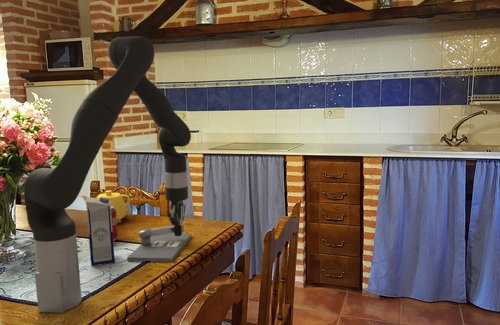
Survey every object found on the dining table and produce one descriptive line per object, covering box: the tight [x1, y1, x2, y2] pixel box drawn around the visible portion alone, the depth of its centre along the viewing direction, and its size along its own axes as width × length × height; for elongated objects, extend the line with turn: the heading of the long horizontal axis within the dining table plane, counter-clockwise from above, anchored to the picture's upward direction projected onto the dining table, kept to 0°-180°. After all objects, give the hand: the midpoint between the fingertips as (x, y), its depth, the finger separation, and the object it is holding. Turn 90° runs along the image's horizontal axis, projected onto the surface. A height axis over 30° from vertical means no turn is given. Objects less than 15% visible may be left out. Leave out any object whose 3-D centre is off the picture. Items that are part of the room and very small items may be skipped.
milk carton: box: [85, 196, 116, 267], centre depth 128 cm, size 7×7×20 cm
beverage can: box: [111, 206, 119, 242], centre depth 148 cm, size 6×6×12 cm
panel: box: [126, 233, 193, 263], centre depth 139 cm, size 24×14×4 cm, turn 173°
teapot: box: [78, 189, 132, 224], centre depth 173 cm, size 14×20×13 cm
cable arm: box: [138, 224, 185, 239], centre depth 142 cm, size 4×15×2 cm, turn 115°
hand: (178, 235), depth 141 cm, fingers closed
